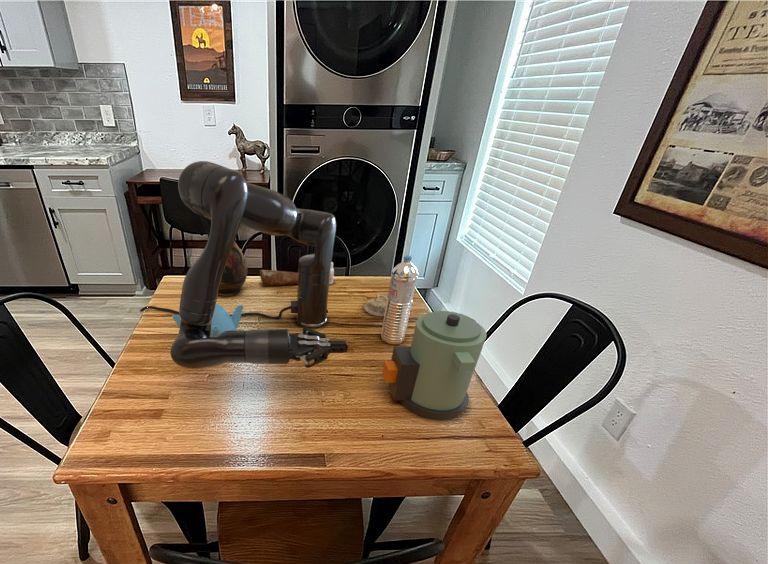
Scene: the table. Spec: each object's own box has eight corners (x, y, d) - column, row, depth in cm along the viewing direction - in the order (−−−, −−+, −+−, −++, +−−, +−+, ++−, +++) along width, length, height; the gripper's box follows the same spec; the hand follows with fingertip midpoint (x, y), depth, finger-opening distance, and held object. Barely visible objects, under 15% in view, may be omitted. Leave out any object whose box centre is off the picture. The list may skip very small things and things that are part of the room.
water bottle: (404, 346, 110) (422, 262, 95) (380, 344, 111) (394, 260, 97) (403, 334, 115) (420, 253, 101) (380, 332, 116) (394, 251, 102)
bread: (259, 281, 146) (259, 267, 143) (309, 280, 148) (310, 266, 145) (260, 288, 141) (259, 274, 138) (311, 287, 143) (312, 272, 139)
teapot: (248, 331, 116) (246, 299, 110) (219, 356, 105) (215, 321, 99) (206, 320, 121) (202, 288, 115) (175, 342, 110) (168, 308, 104)
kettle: (400, 428, 83) (421, 344, 71) (378, 367, 102) (391, 291, 89) (482, 428, 83) (517, 344, 71) (445, 367, 102) (468, 292, 90)
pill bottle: (334, 281, 148) (335, 261, 143) (331, 285, 144) (333, 265, 140) (323, 279, 149) (324, 260, 144) (320, 283, 145) (321, 264, 141)
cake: (398, 309, 130) (402, 295, 127) (385, 321, 123) (389, 306, 120) (371, 299, 134) (374, 285, 131) (358, 310, 128) (361, 295, 124)
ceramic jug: (243, 280, 147) (239, 197, 130) (252, 297, 135) (248, 208, 118) (198, 284, 143) (187, 199, 126) (203, 302, 131) (191, 211, 114)
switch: (385, 382, 87) (388, 370, 85) (382, 373, 90) (384, 360, 88) (396, 382, 87) (399, 370, 85) (392, 373, 90) (395, 360, 88)
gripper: (265, 349, 75) (353, 348, 76) (267, 316, 86) (344, 316, 87) (266, 379, 80) (349, 378, 80) (268, 344, 91) (341, 344, 91)
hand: (346, 346), depth 83 cm, fingers closed
